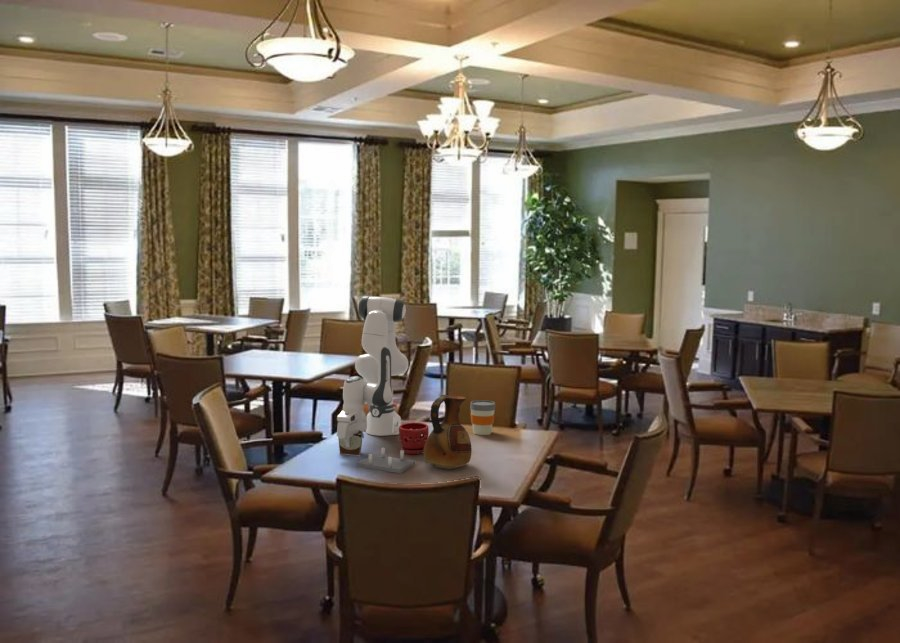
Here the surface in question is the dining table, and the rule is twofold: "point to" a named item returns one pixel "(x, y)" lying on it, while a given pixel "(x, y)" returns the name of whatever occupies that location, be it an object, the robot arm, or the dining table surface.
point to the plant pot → (413, 437)
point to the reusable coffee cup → (482, 416)
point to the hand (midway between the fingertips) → (352, 444)
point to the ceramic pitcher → (447, 436)
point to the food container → (352, 444)
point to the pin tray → (386, 462)
